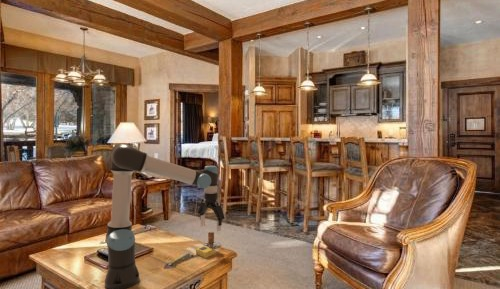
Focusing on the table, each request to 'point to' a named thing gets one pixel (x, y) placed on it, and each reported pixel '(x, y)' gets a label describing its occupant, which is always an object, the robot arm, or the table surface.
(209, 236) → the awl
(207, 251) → the yellow flat block
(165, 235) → the table surface
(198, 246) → the plywood panel
